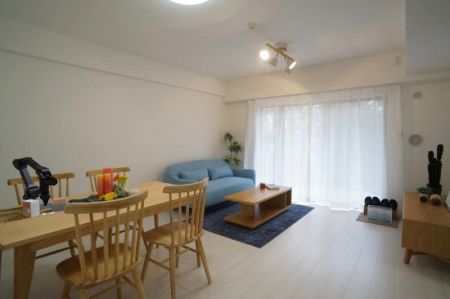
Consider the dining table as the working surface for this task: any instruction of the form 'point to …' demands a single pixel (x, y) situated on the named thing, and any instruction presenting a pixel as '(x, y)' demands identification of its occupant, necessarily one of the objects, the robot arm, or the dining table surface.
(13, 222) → the dining table surface
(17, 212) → the dining table surface
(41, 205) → the slate brick
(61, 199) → the terracotta brick
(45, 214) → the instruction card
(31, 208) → the small box
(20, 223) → the dining table surface
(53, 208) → the charcoal base brick
